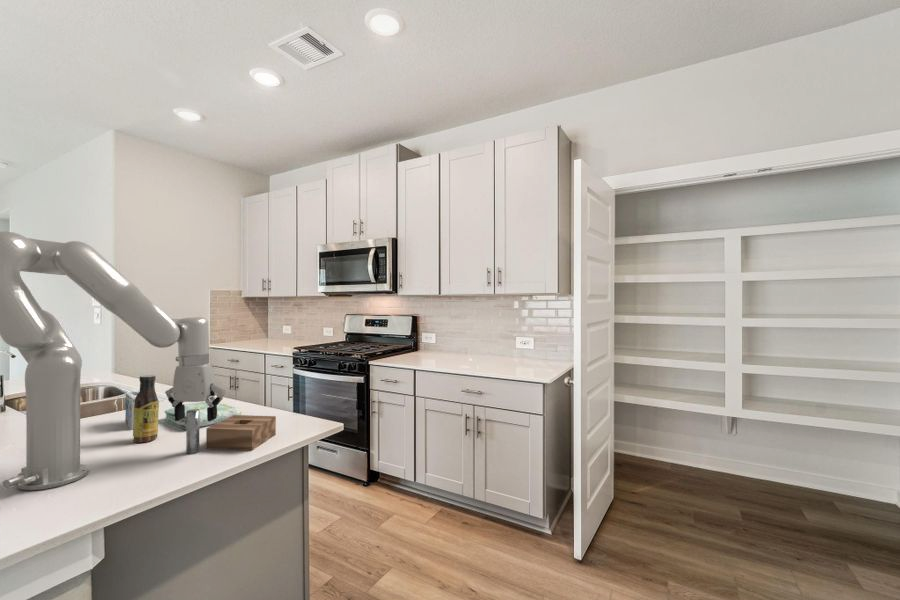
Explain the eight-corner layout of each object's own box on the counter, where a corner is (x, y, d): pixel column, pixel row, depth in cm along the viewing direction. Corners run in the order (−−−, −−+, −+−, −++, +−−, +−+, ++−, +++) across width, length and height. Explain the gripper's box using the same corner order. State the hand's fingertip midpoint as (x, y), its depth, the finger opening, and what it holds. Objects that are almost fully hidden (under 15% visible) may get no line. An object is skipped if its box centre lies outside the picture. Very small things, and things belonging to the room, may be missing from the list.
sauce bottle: (144, 444, 126) (145, 378, 126) (127, 442, 127) (127, 377, 127) (163, 437, 132) (164, 374, 132) (147, 435, 133) (147, 373, 133)
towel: (214, 410, 165) (214, 397, 165) (242, 420, 152) (242, 406, 152) (161, 421, 150) (162, 406, 150) (187, 433, 138) (187, 417, 138)
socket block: (252, 450, 122) (252, 430, 122) (206, 448, 123) (206, 428, 123) (275, 434, 136) (275, 416, 136) (234, 433, 137) (234, 414, 137)
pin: (194, 454, 118) (194, 412, 118) (183, 454, 119) (183, 411, 118) (201, 450, 122) (202, 409, 121) (191, 449, 122) (191, 408, 122)
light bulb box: (124, 423, 146) (124, 392, 146) (148, 419, 151) (148, 389, 151) (131, 430, 138) (131, 398, 138) (155, 426, 143) (155, 394, 143)
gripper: (155, 363, 117) (157, 423, 117) (214, 363, 116) (216, 424, 116) (175, 358, 124) (176, 415, 125) (231, 358, 123) (232, 416, 124)
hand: (196, 419), depth 120 cm, fingers open, 9 cm apart
